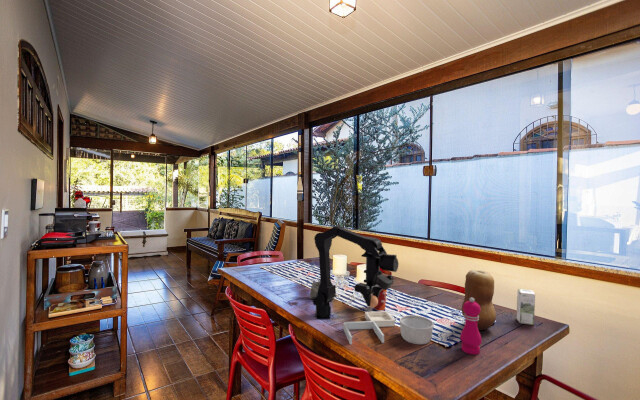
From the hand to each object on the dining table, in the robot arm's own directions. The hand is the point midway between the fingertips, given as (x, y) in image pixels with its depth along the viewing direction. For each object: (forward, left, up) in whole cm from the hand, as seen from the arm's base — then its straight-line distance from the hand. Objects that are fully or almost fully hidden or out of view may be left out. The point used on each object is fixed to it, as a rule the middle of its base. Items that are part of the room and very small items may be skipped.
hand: (371, 304), depth 135 cm
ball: (0, 0, -1) cm, 1 cm away
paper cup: (+11, +24, -11) cm, 29 cm away
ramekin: (+16, -9, -11) cm, 21 cm away
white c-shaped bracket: (-5, -5, -11) cm, 13 cm away
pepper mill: (+32, -20, -11) cm, 40 cm away
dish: (+6, +8, -11) cm, 15 cm away
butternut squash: (+47, -2, -11) cm, 48 cm away
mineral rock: (-16, +40, -11) cm, 44 cm away
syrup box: (+73, +2, -11) cm, 74 cm away
